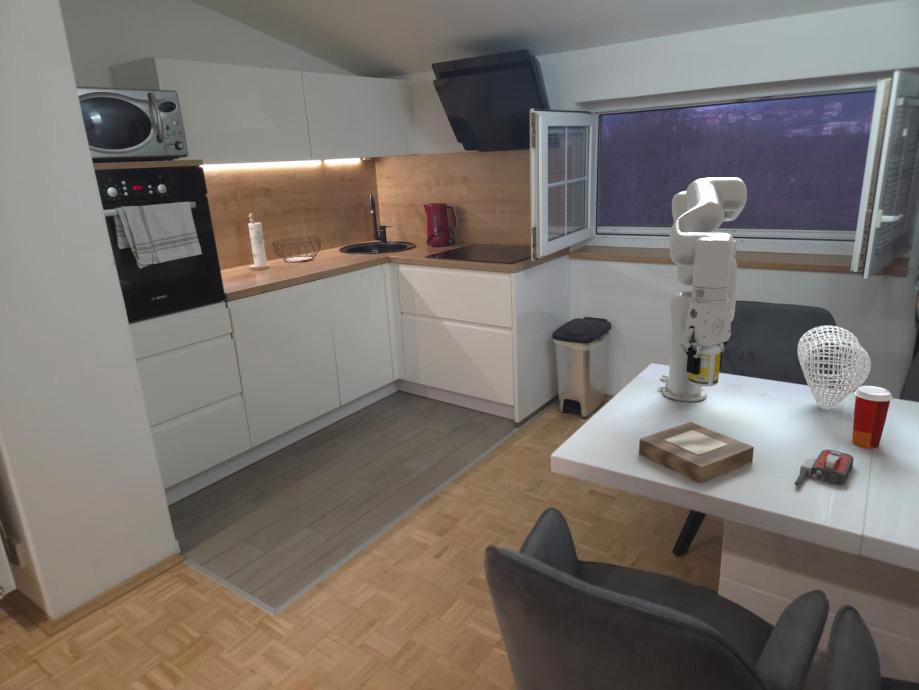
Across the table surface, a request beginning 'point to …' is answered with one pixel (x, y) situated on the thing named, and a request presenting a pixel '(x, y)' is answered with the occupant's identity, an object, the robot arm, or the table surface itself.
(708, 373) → the pill bottle
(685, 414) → the table surface
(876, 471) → the table surface
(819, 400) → the heart
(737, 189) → the robot arm
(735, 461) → the stand
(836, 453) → the walkie-talkie
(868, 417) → the paper cup
